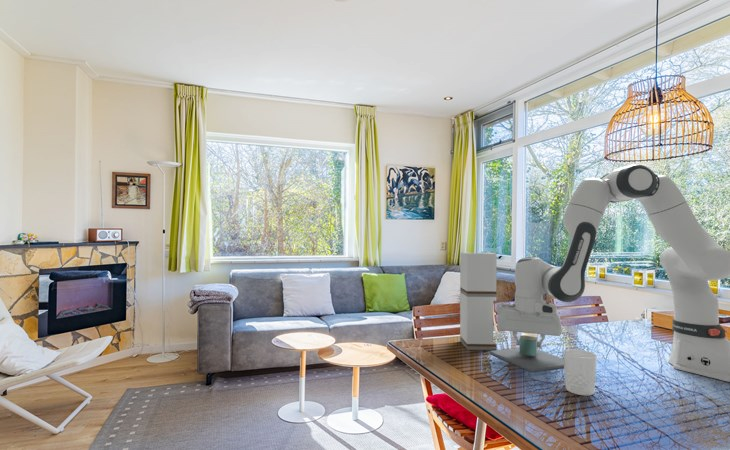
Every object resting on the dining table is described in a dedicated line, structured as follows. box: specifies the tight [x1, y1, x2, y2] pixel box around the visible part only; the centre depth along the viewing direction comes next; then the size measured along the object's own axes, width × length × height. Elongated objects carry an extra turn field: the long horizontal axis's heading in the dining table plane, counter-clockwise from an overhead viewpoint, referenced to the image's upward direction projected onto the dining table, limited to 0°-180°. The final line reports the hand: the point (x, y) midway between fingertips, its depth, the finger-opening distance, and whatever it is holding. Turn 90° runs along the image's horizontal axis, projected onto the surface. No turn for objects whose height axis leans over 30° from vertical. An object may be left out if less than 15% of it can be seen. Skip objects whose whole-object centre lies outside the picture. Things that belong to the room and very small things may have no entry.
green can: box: [519, 332, 539, 356], centre depth 135 cm, size 5×5×12 cm
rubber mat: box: [489, 347, 564, 373], centre depth 133 cm, size 20×18×1 cm
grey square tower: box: [459, 251, 498, 351], centre depth 150 cm, size 11×11×35 cm
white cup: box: [562, 348, 597, 396], centre depth 106 cm, size 8×8×10 cm
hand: (528, 346), depth 134 cm, fingers closed on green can, 5 cm apart
